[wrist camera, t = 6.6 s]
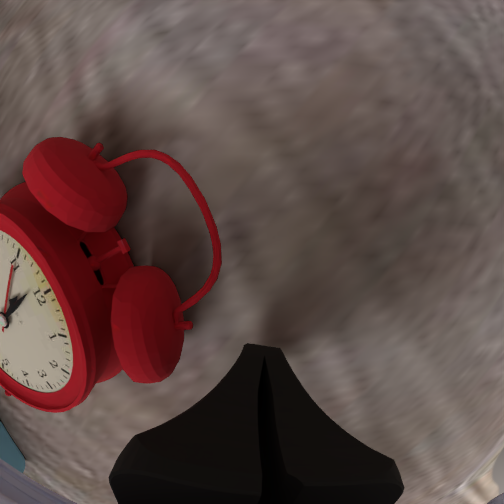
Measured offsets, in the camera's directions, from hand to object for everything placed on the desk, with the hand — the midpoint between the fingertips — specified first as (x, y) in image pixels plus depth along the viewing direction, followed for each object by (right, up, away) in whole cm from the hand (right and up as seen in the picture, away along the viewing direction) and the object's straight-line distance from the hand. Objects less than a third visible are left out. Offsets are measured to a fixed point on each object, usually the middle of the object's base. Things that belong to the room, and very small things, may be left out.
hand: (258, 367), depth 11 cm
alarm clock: (-8, +3, +2) cm, 9 cm away
